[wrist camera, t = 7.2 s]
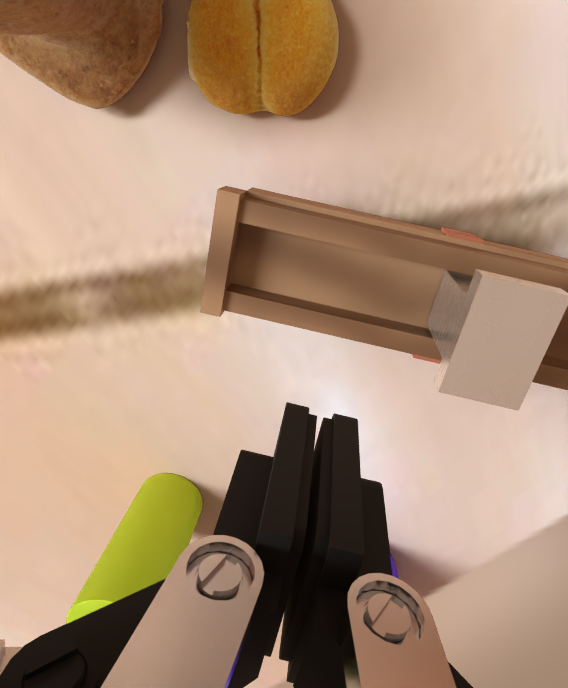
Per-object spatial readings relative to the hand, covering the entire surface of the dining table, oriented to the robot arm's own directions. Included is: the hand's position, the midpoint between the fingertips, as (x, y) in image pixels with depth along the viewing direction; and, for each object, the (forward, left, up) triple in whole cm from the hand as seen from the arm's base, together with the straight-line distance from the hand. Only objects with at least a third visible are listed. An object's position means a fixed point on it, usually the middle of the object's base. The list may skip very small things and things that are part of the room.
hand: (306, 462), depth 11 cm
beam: (0, +7, -25) cm, 26 cm away
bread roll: (-11, -7, -25) cm, 28 cm away
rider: (0, +9, -19) cm, 20 cm away
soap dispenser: (+25, -9, -25) cm, 37 cm away
